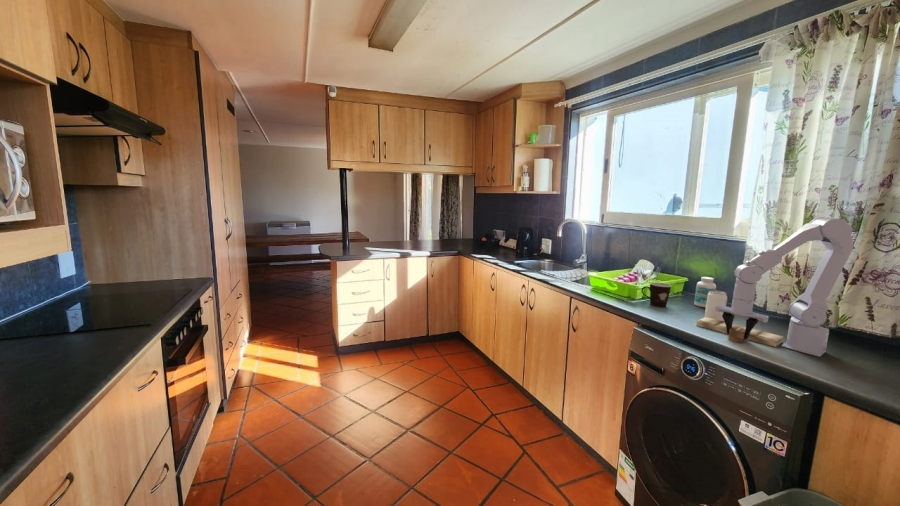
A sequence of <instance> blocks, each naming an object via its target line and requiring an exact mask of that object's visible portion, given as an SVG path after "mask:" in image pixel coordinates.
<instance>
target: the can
mask: <svg viewBox="0 0 900 506" xmlns="http://www.w3.org/2000/svg"><path fill="white" fill-rule="evenodd" d="M727 302H728V295H727V292H725V291H722V290H717V289H716V290H710V292H709V293H708V296H707V303H706V308H705V311H704V318H705V317H708V318H712V319H715V320H719V321H724V319H723V317H722V315H723V312H717V311H715V310H716V306H718V305H719V306H724V307H727Z"/></svg>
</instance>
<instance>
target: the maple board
mask: <svg viewBox="0 0 900 506" xmlns="http://www.w3.org/2000/svg"><path fill="white" fill-rule="evenodd" d="M696 326H698V327H701V328H706V329H708V330H711V331H716V332H718V333H723V334H727V329H726V324H725V321H719V320H715V319H712V318H708V317H705V316H704V317H702V318H700V319H698V320H696ZM734 326H735V327H741V328H744V329H746V326H742V325H739V324H735V323H732V327H734ZM727 335H728V334H727ZM746 340H749V341H751V342H756V343H759V344H763V345H766V346H771V347H773V346H774V348H776V347H777V346H779V345H780V344H781V345H782V343H783V342H784V336H783V335H778V334H774V333H771V332H766V331H764V330H759V329H755V328H753V329H752V330H751V332H750V334H749V336H748V338H747V339H746Z"/></svg>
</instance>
